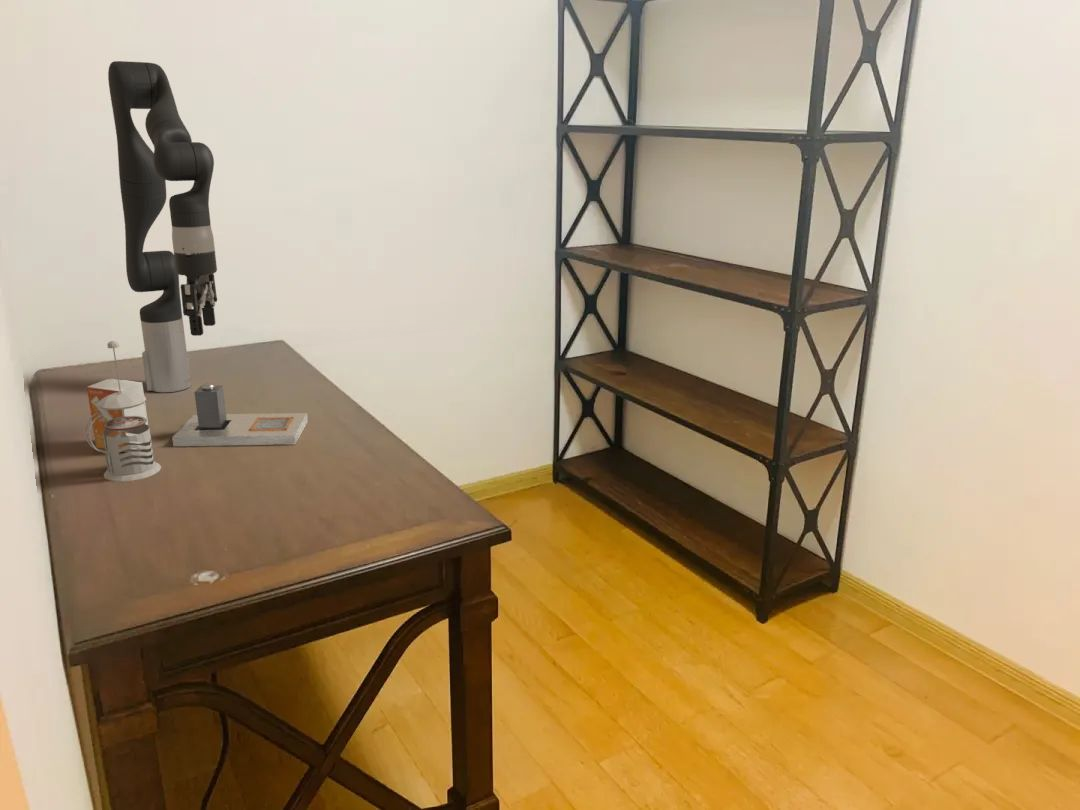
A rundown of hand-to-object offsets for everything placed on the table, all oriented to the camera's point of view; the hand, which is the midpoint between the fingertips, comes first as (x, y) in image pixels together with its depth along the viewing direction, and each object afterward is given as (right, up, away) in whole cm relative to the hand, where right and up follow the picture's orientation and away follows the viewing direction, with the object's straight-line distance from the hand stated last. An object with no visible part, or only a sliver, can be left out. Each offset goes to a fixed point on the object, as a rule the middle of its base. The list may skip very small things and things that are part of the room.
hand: (203, 330), depth 168 cm
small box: (-16, -23, 0) cm, 28 cm away
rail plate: (+5, -21, +7) cm, 23 cm away
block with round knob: (-1, -21, +7) cm, 22 cm away
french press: (-9, -28, -13) cm, 32 cm away
